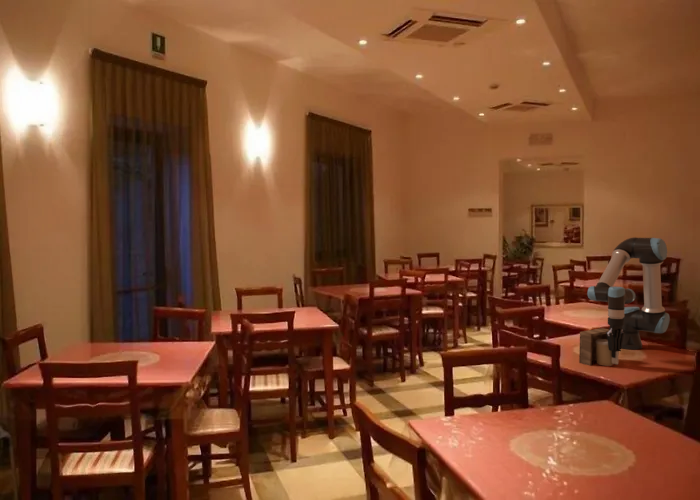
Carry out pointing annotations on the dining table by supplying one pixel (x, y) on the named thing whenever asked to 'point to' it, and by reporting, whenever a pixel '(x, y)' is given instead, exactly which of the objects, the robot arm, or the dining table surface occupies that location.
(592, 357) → the cubby
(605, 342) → the coffee cup
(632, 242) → the robot arm
